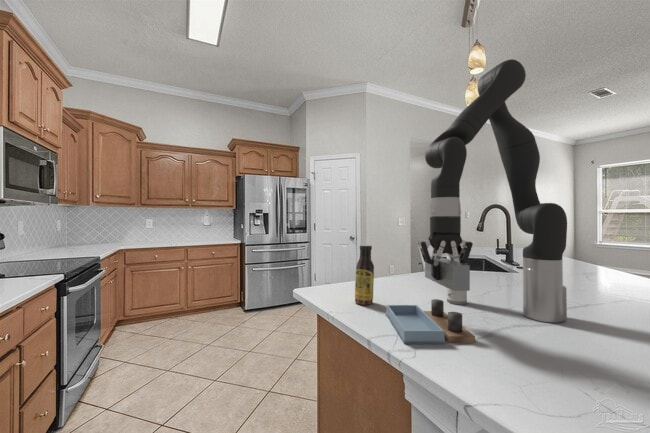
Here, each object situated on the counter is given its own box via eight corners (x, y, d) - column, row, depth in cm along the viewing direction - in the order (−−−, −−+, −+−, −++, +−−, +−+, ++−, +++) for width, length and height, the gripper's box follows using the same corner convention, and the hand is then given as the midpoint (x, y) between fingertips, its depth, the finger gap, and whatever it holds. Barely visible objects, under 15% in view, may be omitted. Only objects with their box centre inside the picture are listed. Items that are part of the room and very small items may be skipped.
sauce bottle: (352, 304, 95) (351, 245, 96) (358, 299, 101) (358, 244, 101) (370, 307, 92) (370, 246, 92) (376, 302, 98) (376, 244, 98)
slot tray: (417, 315, 84) (416, 305, 84) (444, 344, 65) (444, 331, 65) (386, 315, 84) (386, 305, 84) (404, 344, 65) (404, 330, 65)
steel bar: (438, 276, 83) (438, 256, 83) (469, 290, 67) (469, 265, 67) (425, 277, 83) (425, 256, 83) (453, 290, 67) (453, 265, 67)
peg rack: (443, 316, 83) (442, 297, 83) (474, 342, 65) (474, 318, 65) (422, 316, 83) (422, 297, 84) (449, 342, 65) (448, 318, 66)
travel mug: (448, 304, 95) (447, 244, 95) (445, 299, 101) (445, 243, 102) (468, 306, 93) (468, 245, 94) (465, 300, 100) (464, 243, 100)
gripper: (465, 215, 79) (465, 277, 78) (413, 215, 79) (413, 276, 78) (479, 215, 71) (479, 283, 71) (422, 214, 71) (422, 282, 71)
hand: (445, 279), depth 75 cm, fingers closed on steel bar, 4 cm apart
